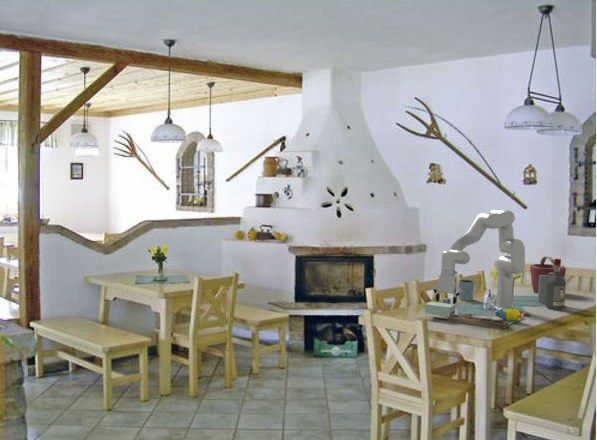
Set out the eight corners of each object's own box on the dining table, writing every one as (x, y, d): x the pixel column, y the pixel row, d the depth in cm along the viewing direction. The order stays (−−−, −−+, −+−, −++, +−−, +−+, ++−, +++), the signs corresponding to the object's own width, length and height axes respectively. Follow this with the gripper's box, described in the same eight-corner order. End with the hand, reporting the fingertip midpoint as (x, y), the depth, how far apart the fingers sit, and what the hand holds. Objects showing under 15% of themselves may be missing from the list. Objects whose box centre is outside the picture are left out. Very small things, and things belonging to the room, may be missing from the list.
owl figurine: (513, 312, 355) (485, 308, 365) (513, 328, 356) (485, 324, 365) (533, 304, 377) (507, 301, 386) (533, 320, 377) (506, 316, 387)
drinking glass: (468, 297, 439) (469, 279, 439) (477, 300, 430) (478, 281, 429) (454, 298, 436) (455, 279, 436) (463, 301, 427) (464, 282, 426)
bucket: (566, 297, 450) (568, 259, 448) (530, 295, 455) (532, 258, 453) (560, 291, 474) (562, 255, 472) (527, 289, 479) (529, 253, 477)
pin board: (452, 318, 374) (453, 310, 374) (508, 326, 359) (508, 318, 359) (447, 321, 367) (447, 313, 366) (503, 329, 351) (504, 321, 351)
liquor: (543, 307, 412) (546, 258, 410) (555, 306, 416) (557, 258, 414) (555, 310, 404) (557, 260, 402) (566, 309, 408) (569, 259, 406)
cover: (430, 310, 381) (430, 301, 381) (455, 313, 374) (455, 304, 373) (424, 313, 373) (425, 304, 373) (449, 316, 366) (450, 307, 366)
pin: (444, 312, 392) (444, 298, 391) (450, 312, 390) (451, 299, 389) (441, 313, 389) (442, 299, 388) (448, 314, 386) (449, 300, 386)
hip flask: (564, 306, 419) (566, 273, 418) (562, 307, 416) (564, 274, 415) (538, 302, 430) (540, 270, 428) (536, 303, 426) (538, 271, 425)
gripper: (464, 273, 386) (462, 303, 387) (435, 270, 395) (433, 299, 396) (460, 275, 380) (458, 305, 381) (430, 271, 389) (429, 301, 390)
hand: (446, 302), depth 389 cm, fingers open, 9 cm apart
